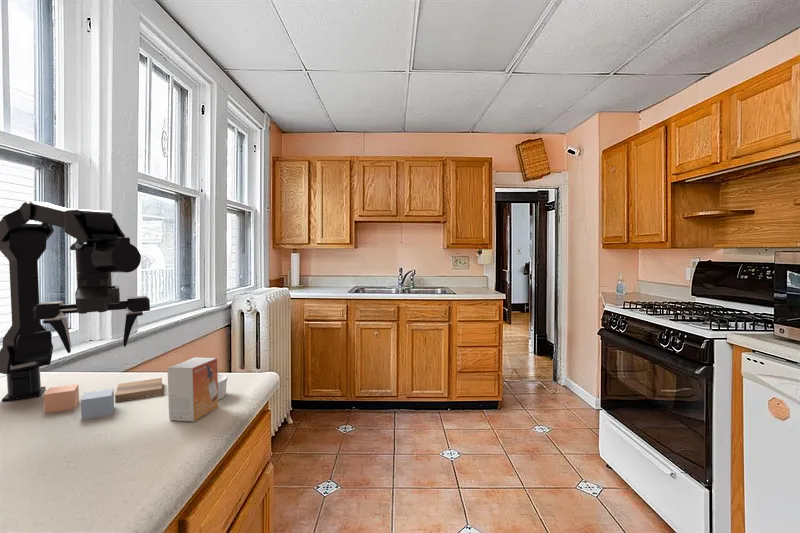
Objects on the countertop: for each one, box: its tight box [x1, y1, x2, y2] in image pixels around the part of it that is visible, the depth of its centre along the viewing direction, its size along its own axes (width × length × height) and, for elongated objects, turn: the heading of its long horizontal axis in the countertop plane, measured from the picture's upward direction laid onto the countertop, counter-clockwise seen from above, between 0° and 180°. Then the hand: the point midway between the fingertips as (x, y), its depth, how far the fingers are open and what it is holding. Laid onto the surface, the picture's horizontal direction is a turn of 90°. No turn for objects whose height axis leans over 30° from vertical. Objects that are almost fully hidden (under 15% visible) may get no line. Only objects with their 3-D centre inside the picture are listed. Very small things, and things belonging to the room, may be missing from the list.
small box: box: [167, 356, 219, 422], centre depth 85 cm, size 8×6×10 cm
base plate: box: [114, 377, 164, 403], centre depth 99 cm, size 9×9×2 cm
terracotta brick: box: [43, 383, 80, 414], centre depth 90 cm, size 5×5×4 cm
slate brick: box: [80, 388, 115, 420], centre depth 87 cm, size 5×5×4 cm
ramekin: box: [217, 373, 228, 401], centre depth 95 cm, size 9×9×4 cm
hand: (97, 349), depth 86 cm, fingers open, 9 cm apart
